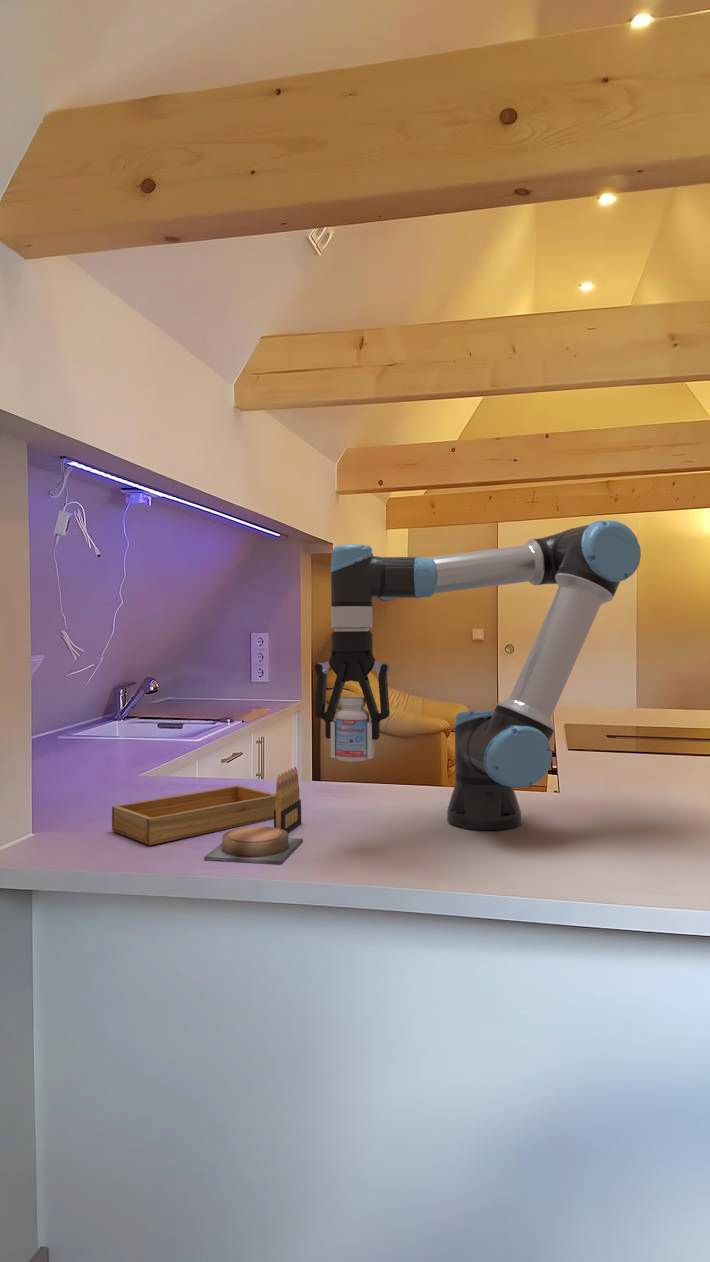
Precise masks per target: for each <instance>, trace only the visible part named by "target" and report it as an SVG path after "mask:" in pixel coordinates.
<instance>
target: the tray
mask: <svg viewBox="0 0 710 1262" xmlns="http://www.w3.org/2000/svg"><path fill="white" fill-rule="evenodd" d="M275 797H276V793H271V792H267V791H263V790H259V789H255V788H251V787H246V786H243V785H232V786H226V787H221V788H215V789H214V788H213V789H208V790H202V791H197V792H190V793H185V794H184V793H183V794H178V795H171V796H165V797H159V798H153V799H148V800H142V801H141V800H140V801H136V802H135V801H134V802H129V803H125V804H117V805H113V806H112V807H111V828H112V829H111V831H112V832H115V833H118V834H120V835H123V836H124V837H128V838H131V839H133V840H135V841H138V842H141V843H142V844H143V843H144V844H146V845H148V846H153V845H157V844H163V843H166V842H170V841H176V840H180V839H184V838H190V837H194V836H198V835H204V834H208V833H209V834H210V833H213V832H217V831H224V830H228V829H233V828H238V827H242V825H243V826H247V824H248V825H252V824H251V823H253V824H257V823H256V822H258V823H261V821H262V822H266V820H267V821H270V820H274V810H275ZM232 827H233V828H232Z"/></svg>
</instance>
